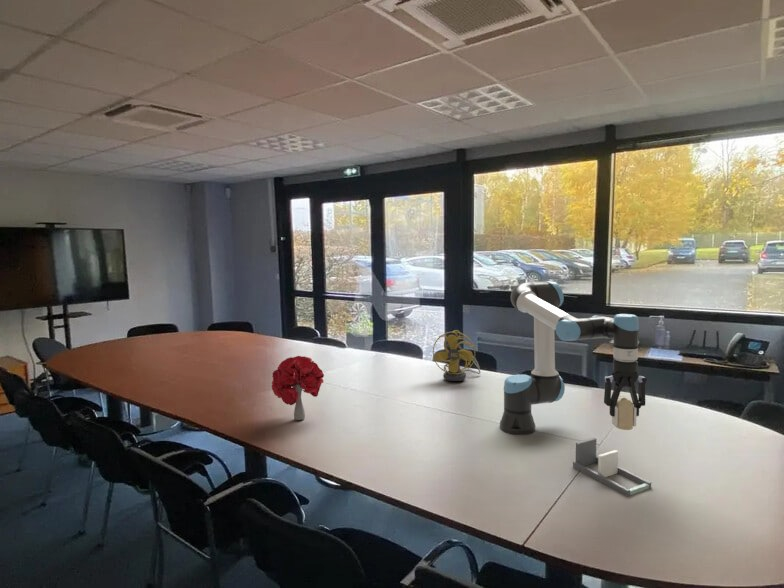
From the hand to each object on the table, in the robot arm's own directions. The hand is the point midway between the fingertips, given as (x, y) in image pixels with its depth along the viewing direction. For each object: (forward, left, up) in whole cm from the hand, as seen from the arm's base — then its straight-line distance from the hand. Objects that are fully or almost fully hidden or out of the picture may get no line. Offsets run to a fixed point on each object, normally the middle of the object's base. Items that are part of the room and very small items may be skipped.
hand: (623, 424), depth 157 cm
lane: (0, -6, -17) cm, 19 cm away
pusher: (0, -6, -17) cm, 19 cm away
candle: (0, 0, -1) cm, 1 cm away
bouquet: (-106, -89, -18) cm, 140 cm away
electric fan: (-129, +17, -18) cm, 132 cm away
